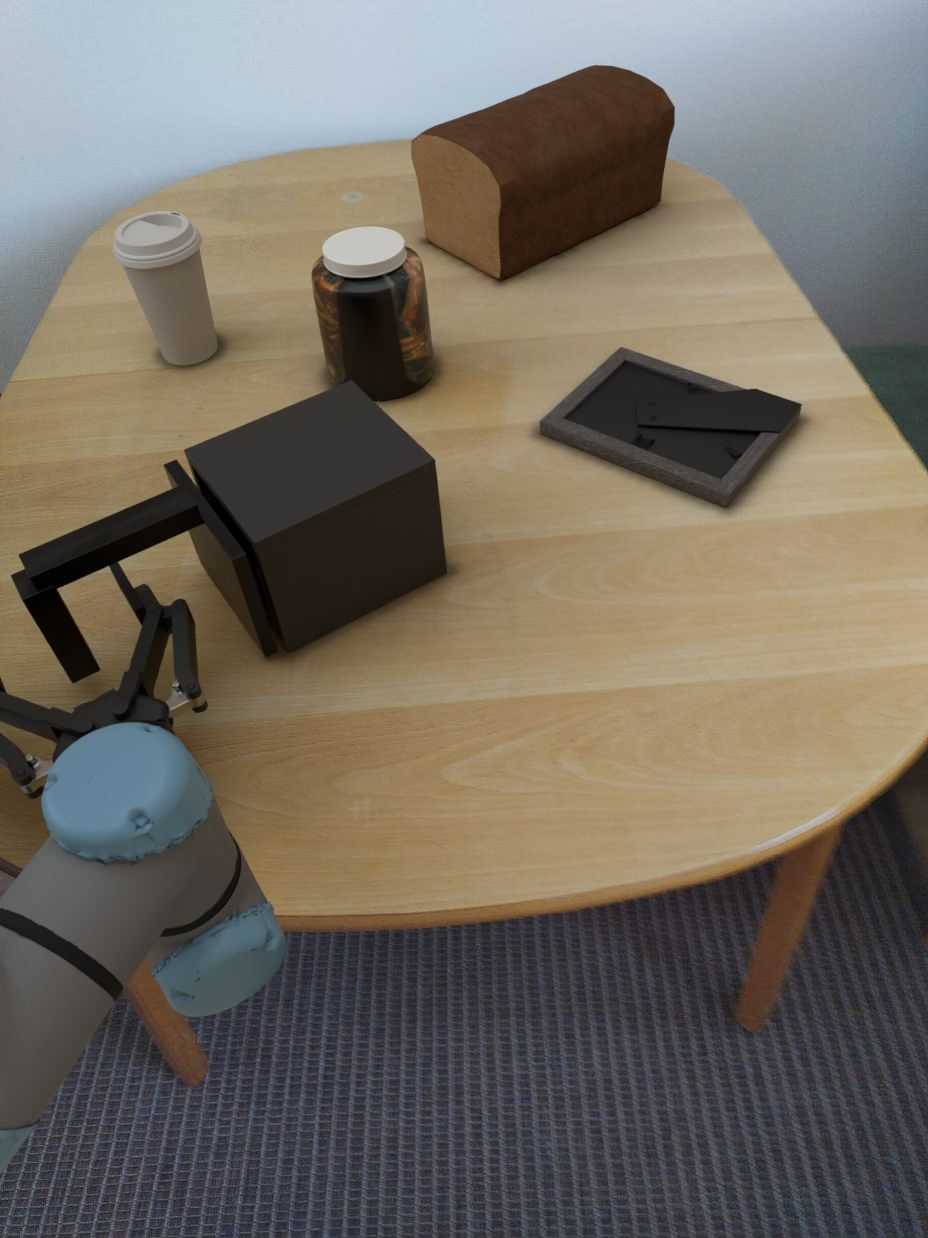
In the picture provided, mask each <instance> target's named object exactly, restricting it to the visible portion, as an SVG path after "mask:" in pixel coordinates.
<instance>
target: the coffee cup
mask: <svg viewBox="0 0 928 1238" xmlns="http://www.w3.org/2000/svg"><path fill="white" fill-rule="evenodd" d="M202 243H203V238H202V235H201V234H200V232H199V230H198V229H197V228H196V226H195V225H194V224H193V223H191V222H190V220H189V218H188V217H187V216H186V215H185V214H182V213H180V212H177V211H172V210H171V211H170V210H160V211H159V210H157V211H150V212H145V213H142V214H138V215H136V216H133V217H130V218H129V219H127V220H126V221H124V222H122V223H121V224H120V225H119V226H118V227H117V228H116V229H115V232H114V241H113V247H112V251H113V259H114V260H115V261H116V262H117V263H118V264H120V265H122V268H123V271H124V272H125V274H126V277H127V279H128V281H129V283H130V285H131V288H132V290H133V292H134V294H135V296H136V299H137V301H138V302H139V305H140V307H141V310H142V312H143V314H144V316H145V320H146V321H147V323H148V325H149V327H150V330H151V332H152V334H153V337H154V339H155V341H156V343H157V345H158V348H159V350H160V352H161V354H162V357H163V359H164V360H165V361H166V362H167V363H168V364H170V365H174V366H182V367H183V366H184V367H185V366H186V367H187V366H193V365H196V364H200V363H203V362H205V361H208V360H209V359H211V358H212V357H213V356H214V355H215V354H216V353H217V351H218V348H219V343H218V337H217V334H216V328H215V323H214V318H213V313H212V307H211V303H210V297H209V292H208V287H207V282H206V276H205V272H204V266H203V261H202V254H201V250H200V247H201V246H202Z"/></svg>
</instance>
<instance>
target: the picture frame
mask: <svg viewBox="0 0 928 1238" xmlns="http://www.w3.org/2000/svg"><path fill="white" fill-rule="evenodd" d="M802 405H803V404H802V403H800V402H797V401H794V400H792V399H788V398H785V397H782V396H779V395H776V394H773V393H770V392H767V391H764V390H762V389H758V388H748V389H747V388H744V387H741V386H738V385H736V384H732V383H729V382H727V381H724V380H721V379H718V378H715V377H712V376H708V375H705V374H703V373H701V372H700V373H699V372H697V371H694V370H692V369H688V368H685V367H683V366H679V365H676V364H673V363H670V362H667V361H665V360H661V359H658V358H656V357H652V356H649V355H646V354H643V353H641V352H637V351H634V350H632V349H628V348H625V347H622V346H620V347H619V348H618V349H617V350H615V351H614V352H613V354H610V356H609V357H608V358H607V359H606V360H605V361H604V362H603V363H601V364H600V365H599V366H597V368H596V369H595V370H594V371H593V372H591V374H590V375H589V376H587V378H584V380H583V381H582V382H581V383H580V384H579V385H577V386H576V387H575V388H574V389H573V390H572V391H571V392H570V393H569V394H567V396H565V397H564V398H563V399H562V400H561V401H560V402H559V403H558V404H557V405H555V407H553V409H551V410H550V411H549V412H548V413H547V414H546V415H544V417H542V419H541V420H539V434H540V435H543V436H545V437H547V438H550V439H552V440H555V441H558V442H560V443H562V444H565V445H567V446H570V447H573V448H575V449H578V450H580V451H582V452H584V453H588V454H590V455H592V456H594V457H598V458H600V459H603V460H604V461H608V462H610V463H613V464H615V465H618V466H620V467H622V468H625V469H628V470H630V471H632V472H635V473H637V474H639V475H643V476H645V477H647V478H649V479H652V480H655V481H658V482H659V483H662V484H665V485H668V486H670V487H672V488H675V489H678V490H680V491H683V492H685V493H688V494H690V495H693V496H695V497H698V498H700V499H702V500H705V501H707V502H710V503H712V504H715V505H717V506H720V507H722V508H725V509H727V508H728V507H729V505H730V504H731V503H732V501H733V500H734V499H735V498H736V497H737V496H738V495H739V494H740V492H741V491H742V489H743V488H744V487H745V486H746V485H747V483H748V482H749V481H750V480H751V478H752V477H754V475H755V473H756V472H757V471H758V470H759V469H760V468H761V466H762V465H763V464H764V463H765V461H766V460H767V459H768V458H769V457H770V455H772V453H773V452H774V451H775V449H776V448H777V447H778V446H779V445H780V443H782V441H783V439H784V438H785V437H786V436H787V435H788V433H789V432H790V431H791V430H792V429H793V428H794V426H795V425H796V424H797V422H798V421H799V420H800V419H799V418H800V415H801V411H802Z"/></svg>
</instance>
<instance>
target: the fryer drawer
mask: <svg viewBox="0 0 928 1238" xmlns="http://www.w3.org/2000/svg"><path fill="white" fill-rule="evenodd" d="M162 466H163V468H164V472H165V473H166V477H167V480H168V481H169V483H170V487H171V488H170V489H168V490H166V491H164V492H162V493H158V494H157V495H154V496H152V497H149V498H147V499H145V500H143V501H140V502H137V503H135V504H133V505H131V506H128V507H126V508H124V509H122V510H119V511H117V512H114V513H112V514H110V515H107V516H105V517H103V518H100V519H98V520H96V521H93V522H91V523H88V524H86V525H84V526H81V527H79V528H77V529H74V530H72V531H70V532H67V533H65V534H63V535H61V536H58V537H56V538H53V539H51V540H48V541H46V542H44V543H42V544H40V545H37V546H35V547H32V548H30V549H27V550H25V551H23V552H20V553H18V558H19V559H20V561H21V563H22V565H23V568H24V569H20V570H18V571H16V572H15V573H12V574H10V578H11V580H12V583H13V584H14V586H15V588H16V591H17V593H18V595H19V597H20V599H21V601H22V603H23V604H24V606H25V608H26V610H27V611H28V613H29V614H30V616H31V617H32V619H33V621H34V623H35V625H36V626H37V628H38V629H39V631H40V633H41V634H42V636H43V637H44V639H45V641H46V642H47V644H48V645H49V648H50V649H51V650H52V653H53V654H54V656H55V657H56V659H57V661H58V662H59V664H60V665H61V667H62V669H63V671H64V673H65V674H66V675H67V677H68V679H69V680H70V682H71V684H76V683H77V682H78V683H79V682H80V681H82V680H85V679H87V678H88V677H90V676H92V675H95V674H97V673H98V672H101V671H102V669H101V667H100V665H99V663H98V661H97V659H96V657H95V655H94V653H93V651H92V649H91V647H90V645H89V644H88V642H87V640H86V639H85V637H84V635H83V633H82V631H81V629H80V627H79V626H78V624H77V622H76V620H75V618H74V616H73V615H72V613H71V611H70V609H69V608H68V606H67V604H66V603H65V600H64V599H63V597H62V595H61V593H60V591H59V590H58V589H60V588H63V587H65V586H68V585H70V584H71V583H74V582H76V581H79V580H81V579H83V578H85V577H88V576H90V575H92V574H94V573H97V572H99V571H101V570H103V569H105V568H107V567H109V566H110V565H112V564H114V563H117V562H118V563H120V562H122V561H123V560H126V559H128V558H131V557H133V556H135V555H137V554H139V553H141V552H143V551H146V550H148V549H151V548H153V547H155V546H157V545H160V544H161V543H164V542H166V541H168V540H170V539H172V538H173V539H174V538H175V537H178V536H179V535H183V534H184V533H186V532H188V534H189V537H190V539H191V542H192V544H193V547H194V549H195V553H196V555H197V558H198V560H199V563H200V566H202V568H203V569H204V571H205V572H206V574H207V575H208V576H209V578H210V579H211V581H212V582H213V584H214V585H215V588H217V590H218V591H219V593H220V594H221V595H222V597H223V599H224V600H225V602H226V603H227V604H228V606H229V607H230V609H231V610H232V612H233V613H234V615H235V616H236V618H237V619H238V621H239V623H241V625H242V626H243V628H244V629H245V631H246V632H247V634H248V635H249V637H250V638H251V640H252V641H253V642H254V644H255V645H256V647H257V649H258V650H259V651H260V653H261V654H262V656H263V658H265V659H268V658H270V657H271V656H273V655H276V654H278V653H279V650H278V646H277V644H276V641H275V638H274V635H273V631H272V629H271V628H270V625H269V623H270V624H271V626H272V627H273V629H274V630H275V631H276V633H277V634H279V630H278V626H277V623H276V620H275V617H274V614H273V611H272V608H271V604H270V601H269V598H268V595H267V592H266V589H265V585H264V582H263V579H262V576H261V573H260V570H259V566H258V563H257V560H256V557H255V554H254V551H253V547H252V545H251V543H250V542H249V541H248V539H247V538H246V537H245V535H244V534H243V533H242V531H241V530H240V529H239V527H238V526H237V525H236V523H235V522H234V521H233V519H232V518H231V517H230V515H229V514H228V513H227V511H226V510H225V509H224V507H223V506H222V505H221V503H220V502H219V501H218V499H217V498H216V497H215V495H214V494H213V493H212V494H210V495H208V496H205V497H204V496H203V495H202V493H201V492H200V490H199V489H198V488H197V486H196V483H195V481H193V480H192V478H191V476H189V473H187V472H186V470H185V469H184V467H183V466H182V465H181V463H180V461H179V460H178V459H174V460H171V461H169V462H166V463H163V465H162Z"/></svg>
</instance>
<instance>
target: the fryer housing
mask: <svg viewBox="0 0 928 1238" xmlns="http://www.w3.org/2000/svg"><path fill="white" fill-rule="evenodd" d="M183 452H184V455H185V458H186V459H187V463H188V467H189V469H190V473H191V475H192V477H193V480H194V484H195V485H196V486H197V488H198V489H199V490H200V492H201V493H202V495H203V496H204V497H205V496H208V495H210V494H212V493H213V494H214V495H215V497H216V498H217V499H218V501H219V502H220V503H221V505H222V506H223V507H224V509H225V510H226V511H227V513H228V514H229V515H230V517H231V518H232V519H233V521H234V522H235V523H236V525H237V526H238V527H239V529H240V530H241V531H242V533H243V534H244V535H245V537H246V538H247V539H248V541H249V542H250V543H251V545H252V547H253V551H254V554H255V557H256V560H257V563H258V566H259V570H260V573H261V576H262V579H263V582H264V585H265V589H266V592H267V595H268V598H269V601H270V604H271V608H272V611H273V614H274V617H275V620H276V623H277V626H278V630H279V634H277V633H276V631H275V630H274V629H273V627H272V626H271V624H270V623H269V625H270V628H271V631H272V633H274V635H275V636H276V638H277V639H278V640H279V642H280V644H281V645H282V646H283V648H284V649H285V650H286V652H287V653H288V654H291V653H293V652H295V651H297V650H299V649H301V648H303V647H305V646H307V645H308V644H311V643H313V642H315V641H316V640H319V639H320V638H322V637H324V636H326V635H329V634H330V633H332V632H334V631H336V630H338V629H340V628H342V627H344V626H346V625H348V624H350V623H351V622H354V621H356V620H358V619H360V618H362V617H363V616H366V615H367V614H369V613H371V612H374V611H375V610H377V609H379V608H381V607H383V606H385V605H387V604H389V603H391V602H393V601H395V600H397V599H398V598H401V597H403V596H405V595H407V594H408V593H411V592H413V591H415V590H416V589H418V588H420V587H422V586H424V585H426V584H428V583H430V582H433V581H434V580H436V579H438V578H440V577H442V576H443V575H445V574H447V573H448V569H447V567H448V566H447V559H446V547H445V539H444V530H443V529H444V528H443V520H442V510H441V500H440V491H439V481H438V473H437V472H438V471H437V463H436V459H435V457H433V456H432V455H431V454H430V453H429V452H428V451H426V449H425V448H424V447H423V446H421V444H419V442H417V440H415V439H414V438H413V437H412V436H411V435H410V434H409V433H408V432H407V431H406V430H405V429H404V428H402V426H401V425H399V423H397V422H396V421H395V420H394V419H393V417H391V416H390V415H389V414H388V413H387V412H386V411H385V410H384V409H383V408H382V407H380V405H378V403H376V402H375V400H372V399H371V398H370V397H369V396H368V395H367V394H365V393H364V392H363V391H362V390H361V389H360V388H359V387H358V386H357V385H356V384H355V383H354V382H353V381H352V380H351V381H348V382H346V383H344V384H341V385H339V386H336V387H334V386H333V387H332V388H329V389H327V390H324V391H321V392H320V393H316V394H314V395H313V396H309V397H307V398H305V399H303V400H300V401H297V402H296V403H293V404H291V405H288V406H286V407H283V408H281V409H279V410H276V411H273V412H271V413H269V414H267V415H264V416H262V417H259V418H256V419H255V420H252V421H250V422H246V423H244V424H242V425H240V426H237V427H234V428H233V429H231V430H228V431H225V432H223V433H221V434H218V435H216V436H213V437H211V438H209V439H206V440H203V441H201V442H199V443H197V444H194V445H192V446H189V447H186V448H185V449H183Z"/></svg>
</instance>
